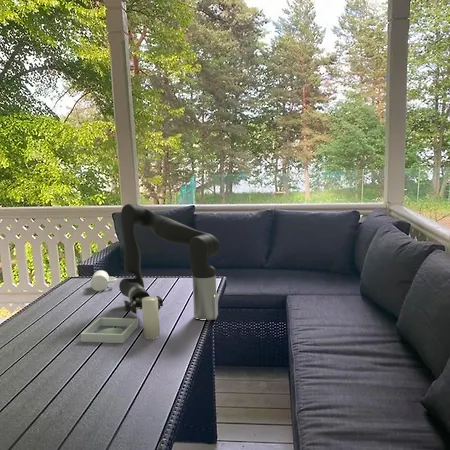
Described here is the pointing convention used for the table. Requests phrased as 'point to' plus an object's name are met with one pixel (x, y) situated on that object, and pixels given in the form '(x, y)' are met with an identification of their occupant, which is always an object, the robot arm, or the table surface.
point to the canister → (150, 317)
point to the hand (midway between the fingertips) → (147, 309)
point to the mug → (101, 280)
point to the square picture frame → (109, 338)
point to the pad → (112, 331)
